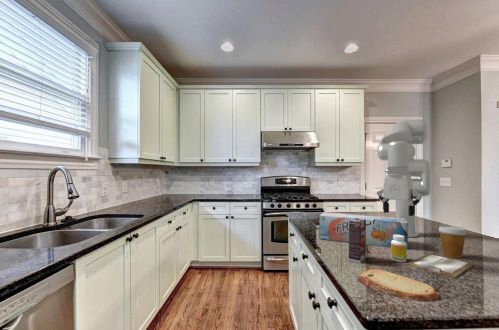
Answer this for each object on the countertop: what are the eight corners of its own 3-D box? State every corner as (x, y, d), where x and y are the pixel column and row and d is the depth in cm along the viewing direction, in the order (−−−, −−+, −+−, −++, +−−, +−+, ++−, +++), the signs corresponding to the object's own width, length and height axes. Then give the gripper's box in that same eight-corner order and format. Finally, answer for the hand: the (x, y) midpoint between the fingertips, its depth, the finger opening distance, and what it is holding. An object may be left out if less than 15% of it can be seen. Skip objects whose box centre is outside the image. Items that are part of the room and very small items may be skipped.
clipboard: (407, 264, 100) (407, 260, 100) (428, 255, 111) (428, 251, 111) (455, 277, 88) (455, 273, 88) (473, 265, 99) (473, 261, 99)
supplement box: (360, 263, 101) (360, 222, 101) (348, 260, 104) (348, 220, 104) (366, 257, 108) (366, 219, 108) (354, 255, 111) (354, 217, 111)
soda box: (318, 240, 136) (318, 215, 136) (322, 234, 148) (322, 211, 149) (409, 250, 119) (408, 221, 119) (405, 242, 131) (405, 217, 132)
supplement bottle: (406, 263, 101) (406, 238, 102) (391, 260, 104) (391, 236, 104) (406, 259, 106) (406, 235, 106) (391, 256, 109) (391, 233, 109)
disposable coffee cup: (461, 254, 113) (460, 226, 113) (471, 261, 104) (471, 231, 104) (435, 251, 116) (435, 224, 116) (443, 258, 107) (443, 229, 107)
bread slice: (445, 301, 72) (445, 288, 72) (384, 304, 71) (384, 290, 71) (401, 275, 90) (401, 264, 90) (352, 277, 89) (352, 266, 89)
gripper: (372, 171, 111) (372, 212, 110) (417, 171, 97) (418, 218, 96) (381, 171, 115) (382, 210, 114) (426, 172, 101) (426, 216, 100)
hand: (398, 214), depth 105 cm, fingers open, 9 cm apart
